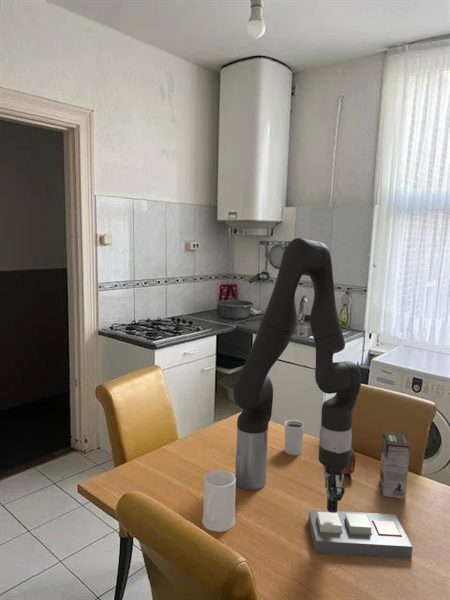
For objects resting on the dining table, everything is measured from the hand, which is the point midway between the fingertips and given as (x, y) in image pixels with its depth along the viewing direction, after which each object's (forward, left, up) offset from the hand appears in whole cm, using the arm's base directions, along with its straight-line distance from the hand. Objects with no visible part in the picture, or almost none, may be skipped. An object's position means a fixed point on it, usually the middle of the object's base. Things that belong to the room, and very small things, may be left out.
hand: (331, 510), depth 107 cm
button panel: (+6, 0, -7) cm, 9 cm away
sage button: (+6, 0, -5) cm, 8 cm away
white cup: (-5, +44, -7) cm, 45 cm away
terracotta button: (+13, 0, -7) cm, 15 cm away
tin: (+10, +35, -7) cm, 37 cm away
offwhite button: (-1, 0, -5) cm, 5 cm away
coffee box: (+22, +23, -7) cm, 33 cm away
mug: (-29, +2, -7) cm, 29 cm away
